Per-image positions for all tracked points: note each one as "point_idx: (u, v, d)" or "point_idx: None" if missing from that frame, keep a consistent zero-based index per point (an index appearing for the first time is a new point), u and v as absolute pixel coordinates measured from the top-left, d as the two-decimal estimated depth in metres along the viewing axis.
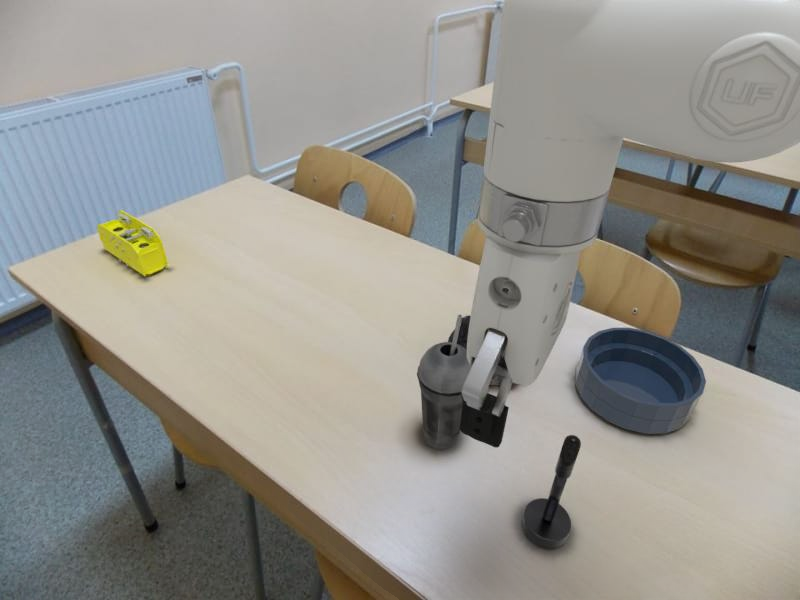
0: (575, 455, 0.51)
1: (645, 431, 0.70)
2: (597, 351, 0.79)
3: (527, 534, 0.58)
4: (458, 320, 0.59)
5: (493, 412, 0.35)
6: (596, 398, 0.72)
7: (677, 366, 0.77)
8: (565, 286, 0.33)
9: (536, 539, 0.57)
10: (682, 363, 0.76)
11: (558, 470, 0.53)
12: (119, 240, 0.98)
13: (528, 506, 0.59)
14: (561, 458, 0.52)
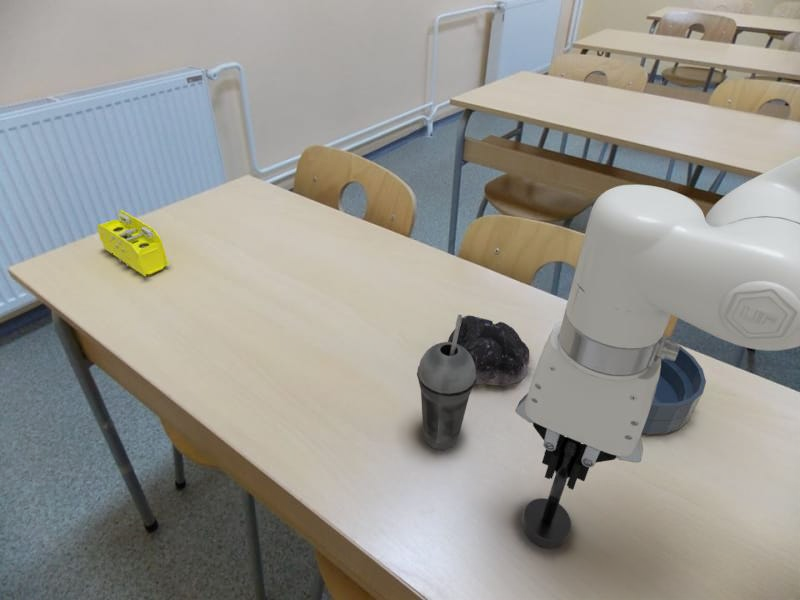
0: (575, 455, 0.51)
1: (645, 431, 0.70)
2: None
3: (527, 534, 0.58)
4: (458, 320, 0.59)
5: None
6: None
7: (677, 366, 0.77)
8: None
9: (536, 539, 0.57)
10: (682, 363, 0.76)
11: (558, 470, 0.53)
12: (119, 240, 0.98)
13: (528, 506, 0.59)
14: (561, 458, 0.52)
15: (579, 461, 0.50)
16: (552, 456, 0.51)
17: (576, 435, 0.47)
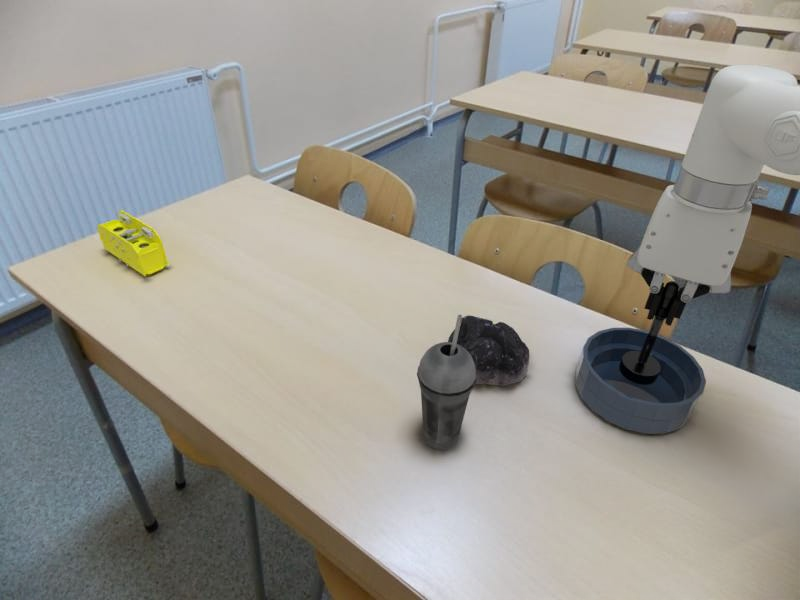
0: (674, 296, 0.66)
1: (645, 431, 0.70)
2: (597, 351, 0.79)
3: (625, 374, 0.73)
4: (458, 320, 0.59)
5: None
6: (596, 398, 0.72)
7: (677, 366, 0.77)
8: None
9: (634, 377, 0.72)
10: (682, 363, 0.76)
11: (658, 312, 0.68)
12: (119, 240, 0.98)
13: (624, 355, 0.75)
14: (662, 301, 0.67)
15: (678, 299, 0.65)
16: (656, 297, 0.66)
17: (680, 272, 0.62)
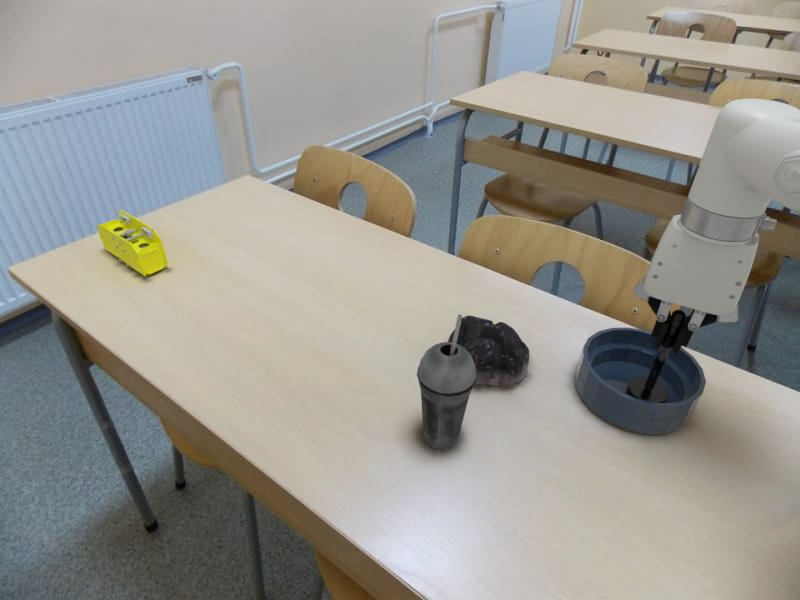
0: (681, 324, 0.65)
1: (645, 431, 0.70)
2: (597, 351, 0.79)
3: None
4: (458, 320, 0.59)
5: None
6: (596, 398, 0.72)
7: (677, 366, 0.77)
8: None
9: None
10: (682, 363, 0.76)
11: (664, 340, 0.67)
12: (119, 240, 0.98)
13: (631, 381, 0.74)
14: (668, 329, 0.66)
15: (685, 328, 0.65)
16: (663, 325, 0.66)
17: (687, 302, 0.62)
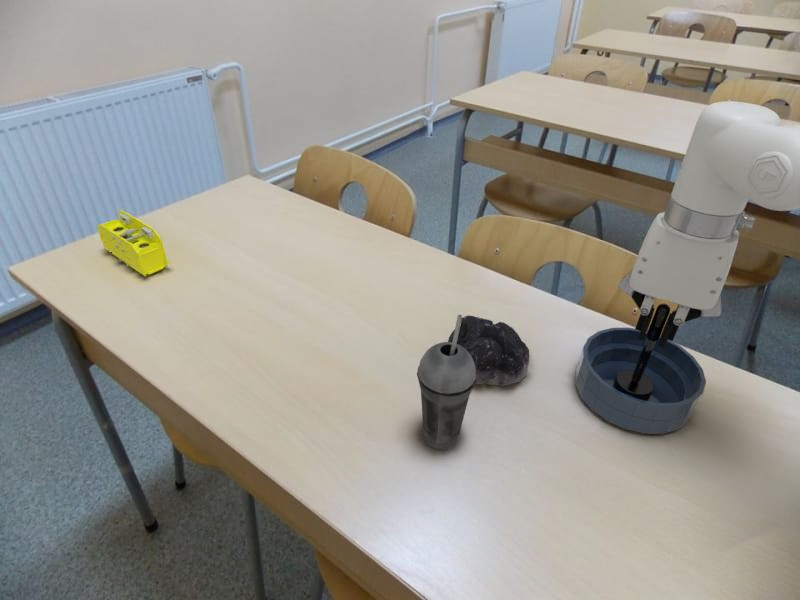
0: (665, 318, 0.68)
1: (645, 431, 0.70)
2: (597, 351, 0.79)
3: None
4: (458, 320, 0.59)
5: None
6: (596, 398, 0.72)
7: (677, 366, 0.77)
8: None
9: None
10: (682, 363, 0.76)
11: (650, 333, 0.70)
12: (119, 240, 0.98)
13: (618, 374, 0.77)
14: (654, 322, 0.69)
15: (671, 322, 0.67)
16: (646, 319, 0.68)
17: (671, 297, 0.64)
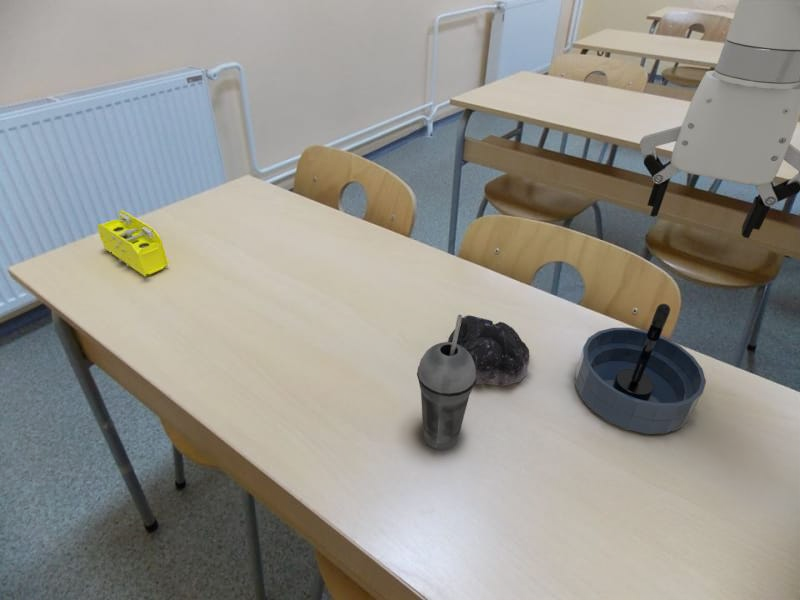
0: (665, 318, 0.68)
1: (645, 431, 0.70)
2: (597, 351, 0.79)
3: None
4: (458, 320, 0.59)
5: None
6: (596, 398, 0.72)
7: (677, 366, 0.77)
8: None
9: None
10: (682, 363, 0.76)
11: (650, 333, 0.70)
12: (119, 240, 0.98)
13: (618, 374, 0.77)
14: (654, 322, 0.69)
15: (760, 203, 0.55)
16: (660, 188, 0.59)
17: (721, 171, 0.55)
